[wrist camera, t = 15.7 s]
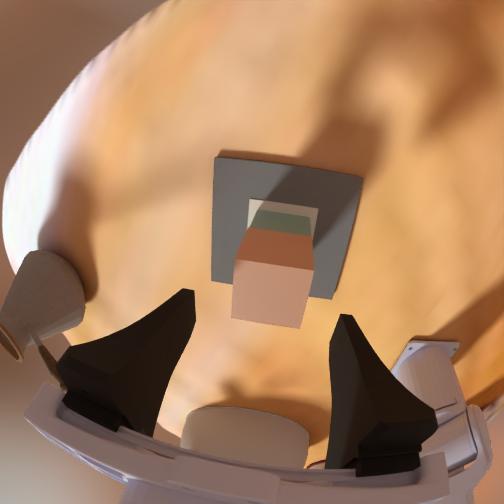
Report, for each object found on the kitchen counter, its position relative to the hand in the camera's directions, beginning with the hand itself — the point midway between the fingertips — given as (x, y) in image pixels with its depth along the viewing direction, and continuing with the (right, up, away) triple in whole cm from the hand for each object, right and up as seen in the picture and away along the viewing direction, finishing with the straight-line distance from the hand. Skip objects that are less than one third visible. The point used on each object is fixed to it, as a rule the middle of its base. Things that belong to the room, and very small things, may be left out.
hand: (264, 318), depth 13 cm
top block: (+1, +3, +5) cm, 6 cm away
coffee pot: (-21, 0, +16) cm, 26 cm away
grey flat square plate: (+2, +5, +9) cm, 10 cm away
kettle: (-2, -29, +28) cm, 41 cm away
